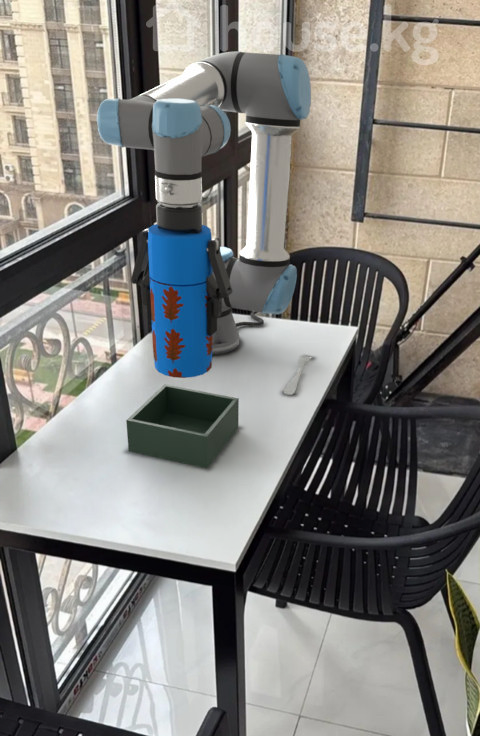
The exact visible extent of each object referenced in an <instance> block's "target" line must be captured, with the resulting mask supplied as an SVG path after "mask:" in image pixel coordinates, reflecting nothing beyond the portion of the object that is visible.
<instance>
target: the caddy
mask: <svg viewBox="0 0 480 736" xmlns="http://www.w3.org/2000/svg"><path fill="white" fill-rule="evenodd" d="M239 402H240V399H239V398H238V397H233V396H228V395H222V394H219V393H211V392H207V391H202V390H196V389H191V388H186V387H182V386H177V385H171V384H166V383H164V384H163V385H162V386H160V387H159V389H157V390H156V392H154V393H153V394H152V395H151V396H150V397H149V398H147V400H146V401H145V402H144V403H143V404H141V405H140V406H139V407H138V408H137V409H136V410H135V411H134V412H133V413H132V414H131V415H130V416H129V417H128V418H127V419H126V420H125V421H126V434H127V436H126V437H127V447H128V452H130V453H136V454H140V455H144V456H148V457H152V458H157V459H162V460H167V461H172V462H175V463H176V462H177V463H181V464H186V465H190V466H195V467H199V468H204V469H208V468H209V467H210V466H211V464H212V463H213V462H214V461H215V459H216V458H217V457H218V456H219V454H220V453H221V451H222V450H224V447H225V446H226V445H227V444H228V442H229V441H230V440H231V439H232V437H233V436H234V435H235V434H236V432H237V431H238V429H239V409H240V407H239V406H240V405H239V404H240V403H239Z"/></svg>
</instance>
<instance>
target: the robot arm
mask: <svg viewBox="0 0 480 736" xmlns="http://www.w3.org/2000/svg"><path fill="white" fill-rule="evenodd" d="M311 104H312V86H311V79H310V74H309V70H308V67H307V65H306V63H305V61H303V59H301V58H300V57H297V56H293V55H288V54H287V55H286V54H282V53H281V54H274V53H273V54H272V53H261V52H244V51H227V52H221V53H218V54H214V55H210V56H208V57H205V58H203V59H199V60H197V61H195V62H193V63H191V64H190V65H188V66H187V67H186V68H185V69H184V70H183V73H182V74H181V75H179V76H176V77H174V78H172V79H170V80H168V81H167V82H164V83H162V84H160V85H157V86H155V87H154V88H152V89H149V90H148V91H147V90H146V91H145V92H143V93H141V94H139V95H137V96H135V97H132V98H129V99H122V98H119V97H117V98H106V99H104V100H103V101H102V102H101V103H100V104H99V107H98V109H97V114H96V124H97V131H98V134H99V137H100V139H101V140H102V141H103V142H104V143H105V144H106V145H110V146H116V147H120V148H131V149H139V150H140V149H141V150H151V151H153V155H154V181H155V182H154V183H155V185H154V186H155V199H156V202H157V204H156V205H155V211H156V212H155V214H156V224H157V225H158V228H160V229H164V230H168V231H174V232H185V233H192V234H193V233H195V234H199V233H201V232H202V225H203V205H202V204H201V202H202V201H203V184H202V183H203V182H202V180H203V179H202V173H203V172H202V158H203V157H206V156H208V155H213V154H216V153H217V152H219V151H220V150H221V149H223V148H224V147H225V146H226V145H227V143H228V141H229V140H230V137H231V132H232V128H231V121H230V119H229V117H228V115H227V114H226V113H225V112H232V113H238V114H245V125H246V126H247V127H248V128H249V130H250V131H251V150H250V151H251V152H250V169H249V170H250V171H249V190H248V191H249V193H248V211H247V227H246V228H247V230H246V231H247V232H246V245H245V246H244V247H243V248H242V249H241V250H240V251H239V255H238V257H234V252H233V250H232V249H231V248H229V247H226V246H221V239H220V238H219V237H214V238H212V239H209V240H208V242H209V243H208V248H206V251H207V252H208V255H209V260H210V263H211V266H212V274H211V275H210V277H206V281H205V282H206V290H207V291H208V293H209V295H210V298H209V299H208V300H207V335H209V336H212V335H213V349H212V356H215V355H222V354H226V353H230V352H232V351H234V350H235V349H237V348H238V346H239V345H240V333H239V331H238V327H244V326H249V327H261V326H262V325H264V323H265V320H264V319H263V318H261V317H260V316H257V315H256V314H258V313H262V314H264V315H267V314H268V315H281V314H283V313H284V312H285V311H286V310H287V309H288V307H289V306H290V304H291V301H292V298H293V296H294V293H295V288H296V285H297V279H298V270H297V267H296V266H295V265H293V264H291V263H290V262H291V261H290V260H291V255H290V254H289V252H288V251H287V250H286V249H285V239H286V227H287V226H286V224H287V210H288V198H289V197H288V196H289V183H290V169H291V157H292V156H291V155H292V143H293V136H294V134H296V132H298V130H300V127H301V121H303V120H306V119H307V118H308V117H309V115H310V111H311V110H310V109H311V108H310V107H311ZM148 232H149V227H147V228H146V229H144V230H142V231H140V232H139V238H140V239H139V241H140V245H139V249H138V252H137V256H136V259H135V262H134V263H135V264H134V266H133V270H132V273H131V278H130V282H131V283H132V284H133V285H137V286H139V287H140V289H141V297H142V298H141V301H142V304H143V306H146V316H147V317H146V318H147V325H148V326H151V327H152V318H151V297H150V276H149V270H148V271H147V272H146V270H147V266H148V264H149V255H148ZM145 273H146V274H145ZM233 309H236V310H243V311H249V312H251V313H250V317H251V318H252V319H253V320H256V321H239V322H236V321H235V318H234V315H233Z"/></svg>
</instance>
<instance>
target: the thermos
mask: <svg viewBox="0 0 480 736" xmlns="http://www.w3.org/2000/svg"><path fill="white" fill-rule="evenodd" d="M148 228H149V232H148V255H149V260H148V271H149V276H150V297H151V318H152V326H151V337H152V353H153V361H154V363H153V364H154V369H155V370H156V371H157V372H158V373H159V374H162V375H163V376H166V377H171V378H177V379H178V378H179V379H180V378H181V379H186V378H196V377H199V376H202V375H204V374H206V373H208V372H209V371H210V370H211V369H212V365H213V361H212V360H213V355H212V349H213V335H212V336H209V335H207V300H208V299H209V298H210V295H209V293H208V291H207V290H206V282H205V281H206V277H210V275H211V274H212V266H211V263H210V260H209V255H208V252H207V251H206V248H208V243H209V242H208V240H209V239H213V237H212V230H211V228H210V227H209V226H208V225H204V224H202V232H201V233H199V234H195V233H193V234H192V233H185V232H174V231H168V230H164V229H160V228H158V225H157V223H155V224H152V225H151V226H150V227H148Z"/></svg>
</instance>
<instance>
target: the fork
mask: <svg viewBox="0 0 480 736" xmlns="http://www.w3.org/2000/svg"><path fill="white" fill-rule="evenodd" d="M311 359H313V357H312V356H305V355H301V356H299V357H298V358H297V365H298V366H299V367H298V370H297V372H296V374H295V375H294V377H292V379H291V380H290V382H288V384H287V385H286V386H285V388H284V390H283V393H284V394H285V395H286V396H287V395H288V396H293V395H294V394H295V393H296V392H297V387H298V383H299V379H300V377H301V374H302V372H303V369H304V368H305V367H306V366H308V365H309V364H310V361H311Z"/></svg>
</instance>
